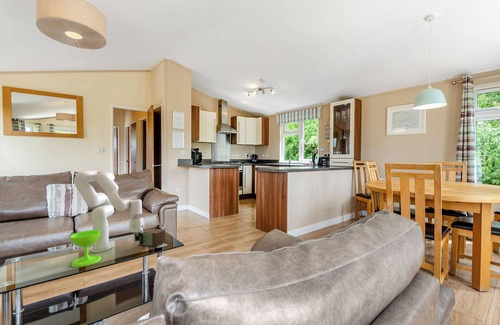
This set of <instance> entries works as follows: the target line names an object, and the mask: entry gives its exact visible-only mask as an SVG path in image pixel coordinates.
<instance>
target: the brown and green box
mask: <svg viewBox="0 0 500 325" xmlns="http://www.w3.org/2000/svg"><path fill="white" fill-rule="evenodd" d="M143 233H148V234H153V246H149V245H143V243H141V244H137V246H138V247H140V246H141V247H146V248H154V249H155V248H157V247H159V246H160V245H163V244H164V243H166V229H164V228H152V227H150V228H149V227H148V228H146V229H144V230H143ZM143 233H141V235H140V237H143ZM142 241H143V238H142V239H141V242H142Z"/></svg>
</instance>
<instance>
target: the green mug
mask: <svg viewBox="0 0 500 325" xmlns="http://www.w3.org/2000/svg"><path fill="white" fill-rule="evenodd" d="M142 238H143V241H142V242H141V239H142ZM141 243H143V245H145V246H147V245H149V246H153V234H148V233H143V237H139V241H138V245H140V244H141Z"/></svg>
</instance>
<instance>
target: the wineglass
mask: <svg viewBox="0 0 500 325" xmlns="http://www.w3.org/2000/svg"><path fill="white" fill-rule="evenodd" d="M100 232H101V231H99V230H93V229H91V230H84V231H79V232H76V233H75V232H74V233H73V234H71V235H70V236H69V237H70V241H71V242H72V244H73V245H74V246H77V247H79V248H84V256H82V257H79V258H77V259H75V260H73V261H72V262H71V264H70V267H73V268H83V267H87V266H91V265H94V264H96V263H98V262H100V261H101V260H102V257H101V256H100V255H97V254H95V255H94V254H89V247H90V246H91V245H92V244H93V243H95V242H96V241H97V240H98V238H99V236H100Z"/></svg>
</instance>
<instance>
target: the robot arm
mask: <svg viewBox="0 0 500 325" xmlns="http://www.w3.org/2000/svg"><path fill="white" fill-rule="evenodd" d="M115 178H116V177H115V175H114V173H112V172H110V171H103V170H93V169H92V170H82V171H79V172H77V173H76V174H75V176H74V178H73V184H74V187H75V188H76V190H77V191H78V192H79V194H80V196H81V197H82V199H83V200H84V203H85V204H86V205H87V206H88V207H89V208H93V209H92V211H91V213H90V217H91V218H90V219H91V221H92V230H99V231H101V232H100V236H99V238H98V240H97V241H96V242H95V243H93V244H92V245H90V246H91V247H92V248H91V249H90V252H91V253H95V254H96V253H102V252H106V251H109V250H111V248H112V245H111V244H110V235H109V232H110V231H109V229H110V228H109V222H108V218H109V217H111V216H112V215H113V214H114V213H115V210H116V211H117V212H119V213H120V212H121V213H122V212H125V211H129V210H130V218H129V223H128V224H129V225H128V226H129V227H128V230H129V232H130V233H131V234H133V236H134V242H139V237H140V235H141V233H143V230H145V221H144V217H143V201H142V199H139V198H138V199H137V198H136V199H130V198H129V199H128V198H127V199H121V197H120V196H119V194H118V191H119V188H120V187H119V186H118V184H117V183H116V182H115ZM91 182H92V183H93V182H97V184H98V185H99V186H100V187H101V188H102V190H104V192H105V193H106V194H105V193H103V192H97V191H96V190H95V188H94V187H93V186H92V185H91V184H90V183H91ZM94 207H95V208H94Z"/></svg>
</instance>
